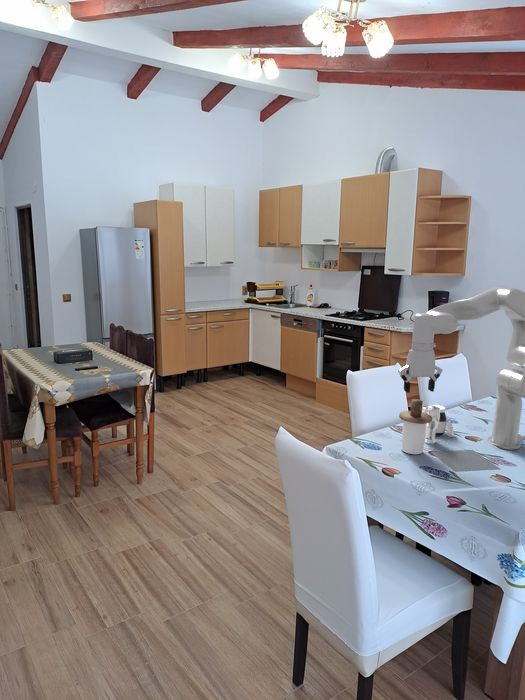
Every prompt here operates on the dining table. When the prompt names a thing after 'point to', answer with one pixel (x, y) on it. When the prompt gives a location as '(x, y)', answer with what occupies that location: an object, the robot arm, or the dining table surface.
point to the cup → (413, 437)
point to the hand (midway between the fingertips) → (418, 391)
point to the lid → (416, 413)
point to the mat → (464, 460)
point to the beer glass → (433, 425)
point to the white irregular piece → (444, 424)
